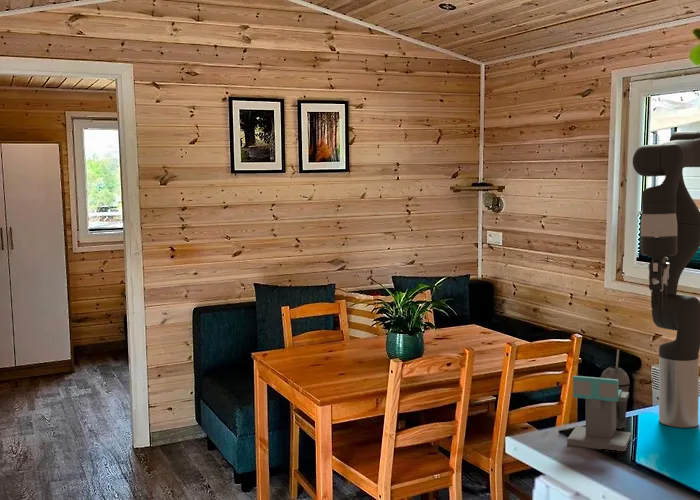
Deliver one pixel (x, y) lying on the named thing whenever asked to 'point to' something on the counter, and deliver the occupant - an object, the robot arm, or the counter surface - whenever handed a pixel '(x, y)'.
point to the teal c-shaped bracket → (596, 388)
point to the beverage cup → (622, 385)
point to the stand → (600, 427)
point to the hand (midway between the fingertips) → (659, 305)
